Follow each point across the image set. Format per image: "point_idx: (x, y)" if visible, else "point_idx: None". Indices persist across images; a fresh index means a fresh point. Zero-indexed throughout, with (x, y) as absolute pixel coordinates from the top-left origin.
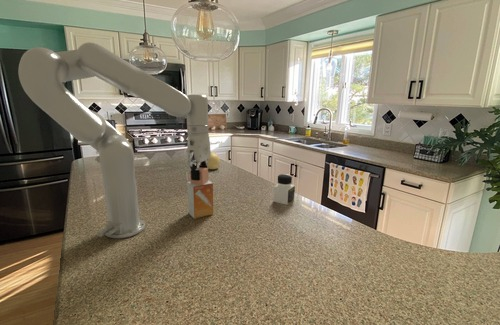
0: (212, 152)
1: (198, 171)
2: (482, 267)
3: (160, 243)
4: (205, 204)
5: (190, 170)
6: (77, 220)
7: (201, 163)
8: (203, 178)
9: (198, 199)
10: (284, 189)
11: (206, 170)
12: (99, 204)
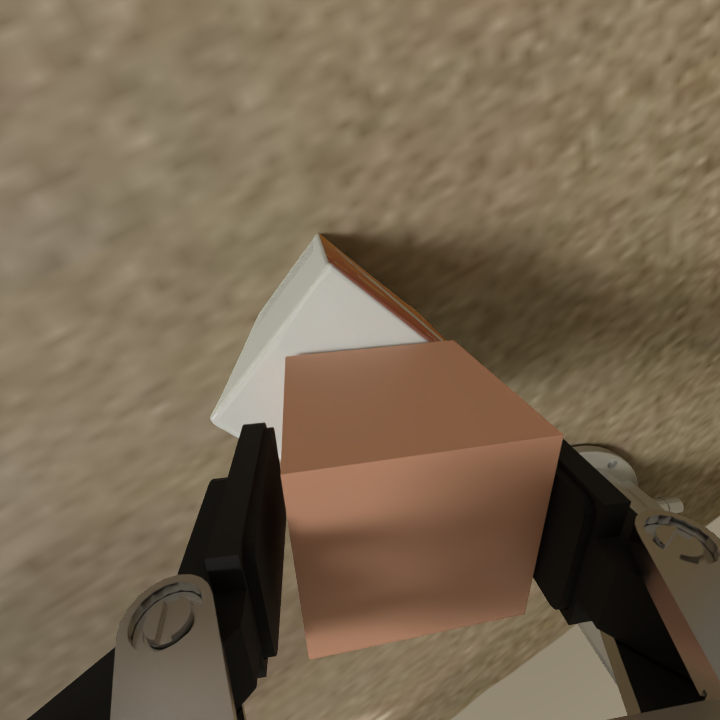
0: None
1: (610, 487)
2: None
3: (653, 321)
4: (374, 280)
5: (505, 617)
6: (524, 646)
7: (242, 693)
8: (460, 374)
9: (429, 327)
10: None
11: (362, 444)
12: (403, 690)
